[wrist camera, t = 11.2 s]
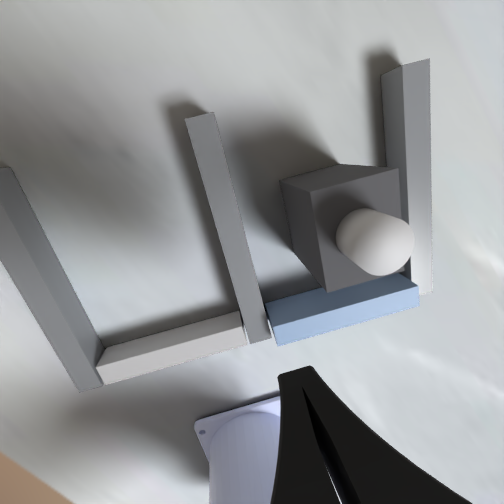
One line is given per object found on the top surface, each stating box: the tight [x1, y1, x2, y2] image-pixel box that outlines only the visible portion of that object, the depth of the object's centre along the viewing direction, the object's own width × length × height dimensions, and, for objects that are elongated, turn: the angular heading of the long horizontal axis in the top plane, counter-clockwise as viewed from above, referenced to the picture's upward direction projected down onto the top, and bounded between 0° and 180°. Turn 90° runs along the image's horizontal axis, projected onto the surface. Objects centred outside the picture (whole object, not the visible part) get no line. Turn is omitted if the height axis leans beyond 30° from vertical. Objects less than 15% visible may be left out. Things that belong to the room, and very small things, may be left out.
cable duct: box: [0, 58, 433, 393], centre depth 17 cm, size 14×24×3 cm, turn 103°
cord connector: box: [279, 164, 414, 293], centre depth 15 cm, size 5×4×8 cm
